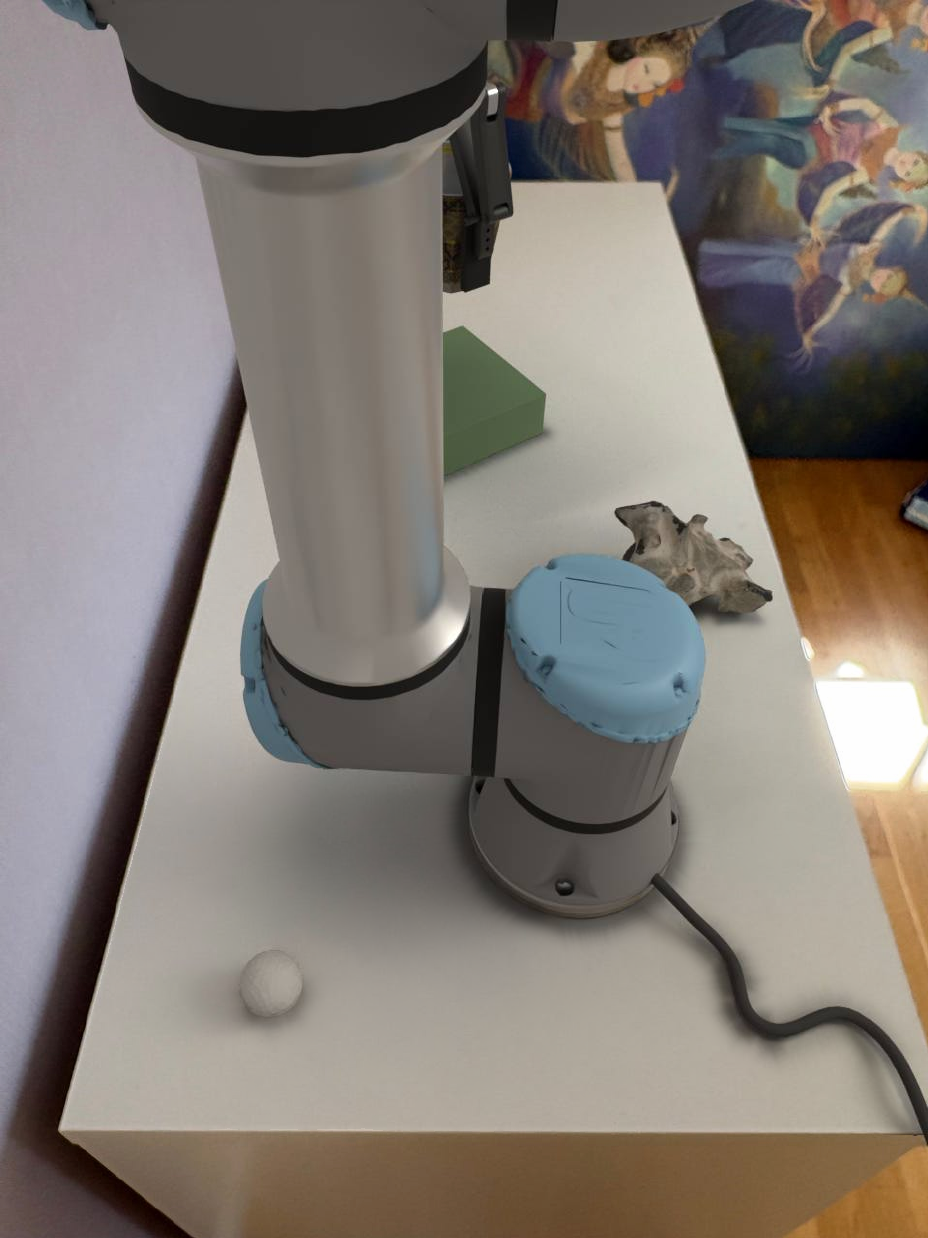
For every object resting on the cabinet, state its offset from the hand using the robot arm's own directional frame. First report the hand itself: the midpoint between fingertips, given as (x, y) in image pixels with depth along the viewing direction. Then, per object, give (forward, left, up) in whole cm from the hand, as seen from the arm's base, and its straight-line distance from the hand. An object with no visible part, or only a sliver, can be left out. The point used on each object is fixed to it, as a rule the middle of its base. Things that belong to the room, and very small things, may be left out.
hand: (442, 261), depth 88 cm
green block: (+1, -1, -19) cm, 19 cm away
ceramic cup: (-1, 0, -2) cm, 2 cm away
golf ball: (-43, +42, -19) cm, 63 cm away
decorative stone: (-33, -6, -11) cm, 35 cm away
